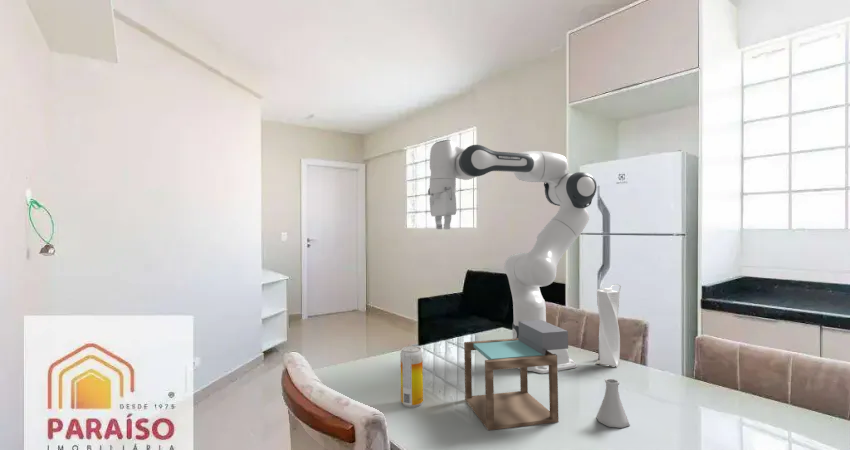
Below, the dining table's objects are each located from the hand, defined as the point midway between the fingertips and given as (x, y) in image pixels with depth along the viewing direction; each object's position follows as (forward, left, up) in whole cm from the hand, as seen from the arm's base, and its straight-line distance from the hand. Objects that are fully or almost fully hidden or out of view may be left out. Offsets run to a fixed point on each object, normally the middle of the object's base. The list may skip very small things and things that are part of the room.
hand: (442, 229), depth 137 cm
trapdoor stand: (-9, +32, -48) cm, 58 cm away
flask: (-31, +44, -48) cm, 72 cm away
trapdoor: (-12, +32, -33) cm, 48 cm away
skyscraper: (-58, +6, -48) cm, 76 cm away
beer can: (+15, +22, -48) cm, 55 cm away
